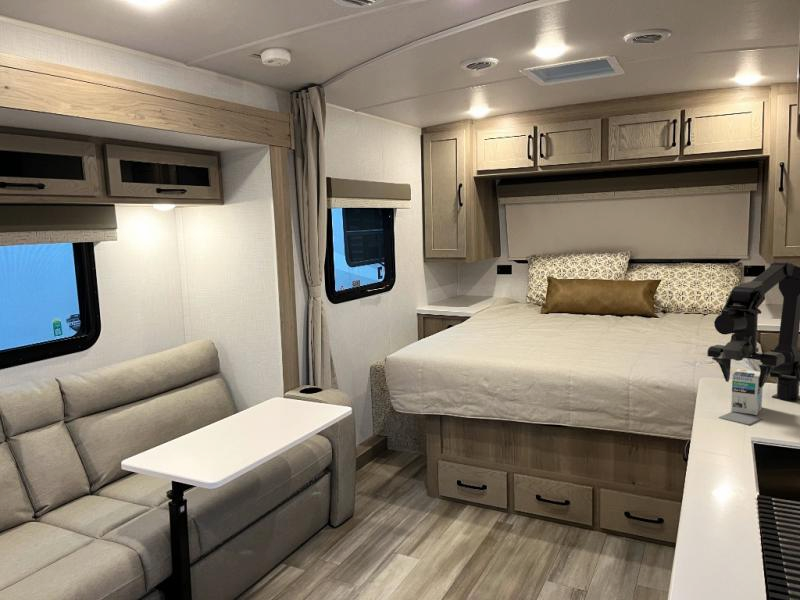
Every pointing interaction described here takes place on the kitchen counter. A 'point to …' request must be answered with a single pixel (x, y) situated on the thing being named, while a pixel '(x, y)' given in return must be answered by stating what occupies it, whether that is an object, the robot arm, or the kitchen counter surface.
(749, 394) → the light bulb box
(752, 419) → the mat
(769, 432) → the kitchen counter surface
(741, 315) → the robot arm
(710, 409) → the kitchen counter surface
